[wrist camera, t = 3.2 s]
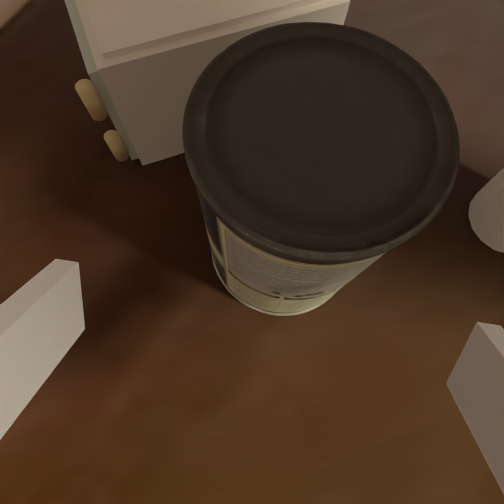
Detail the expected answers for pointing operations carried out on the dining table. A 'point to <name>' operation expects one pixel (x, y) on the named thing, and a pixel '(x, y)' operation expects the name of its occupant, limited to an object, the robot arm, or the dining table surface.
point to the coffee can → (314, 159)
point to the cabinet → (165, 59)
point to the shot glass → (489, 213)
